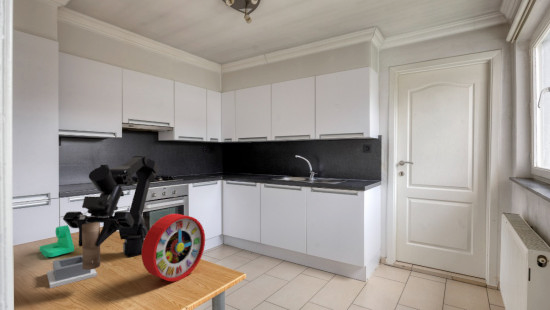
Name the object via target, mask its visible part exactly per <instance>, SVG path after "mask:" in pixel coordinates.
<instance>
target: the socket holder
mask: <svg viewBox="0 0 550 310" xmlns="http://www.w3.org/2000/svg"><path fill="white" fill-rule="evenodd" d="M46 276H47V281H48V285H49V288H50V289H51V288H56V287H61V286H64V285H68V284H72V283H76V282H79V281H83V280H88V279H92V278H94V277H98V273H97V270H96V268H95V269H91V270H84V269H83V268H82V254H80V255H75V256H70V257H66V258H62V259H57V260H56V259H55V260H52V270H48V271H46Z"/></svg>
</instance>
